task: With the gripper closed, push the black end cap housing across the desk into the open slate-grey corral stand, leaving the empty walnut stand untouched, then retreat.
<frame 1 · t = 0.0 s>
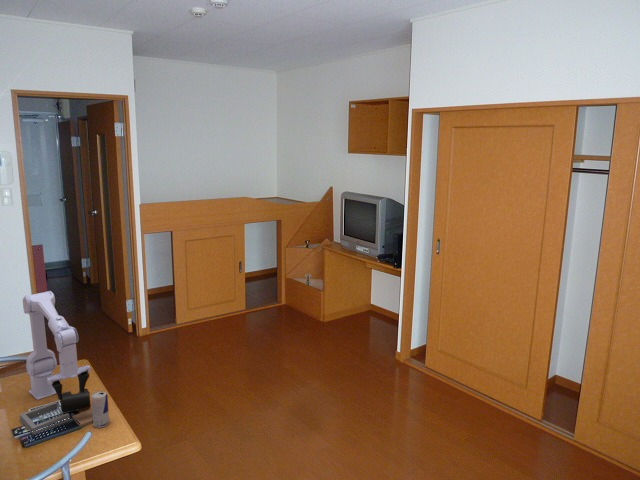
hand: (71, 395, 182), 10 cm above the table, fingers open, 7 cm apart
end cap: (76, 409, 192), on the table
corral stand: (48, 419, 185), on the table
energy drink: (101, 424, 182), on the table
walnut stand: (87, 418, 186), on the table
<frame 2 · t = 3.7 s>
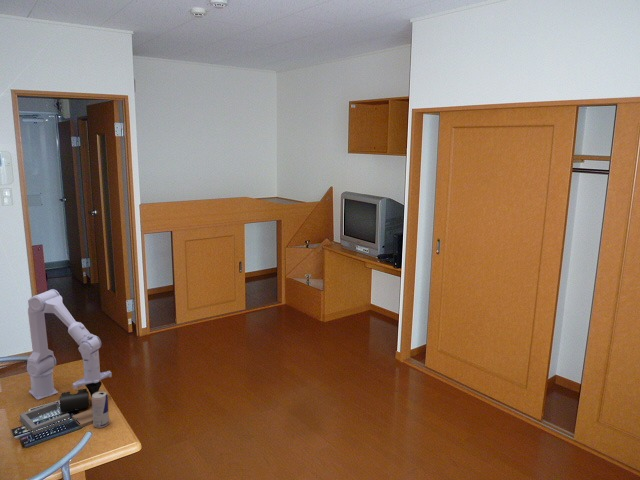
hand: (94, 398, 197), 1 cm above the table, fingers closed
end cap: (75, 409, 192), on the table, touching gripper
everything else where it was.
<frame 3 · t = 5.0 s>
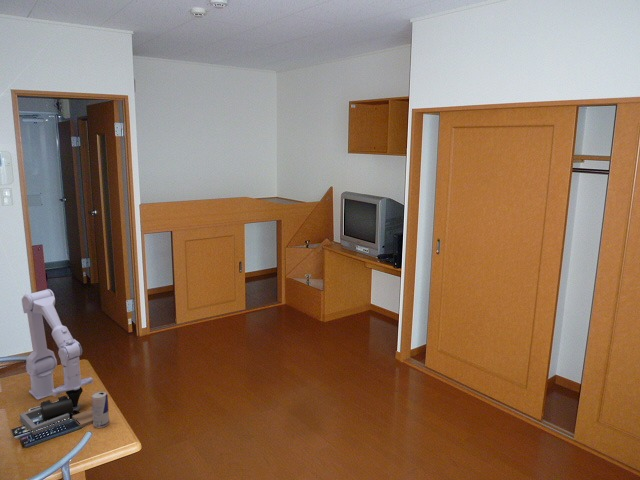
hand: (74, 406, 191), 1 cm above the table, fingers closed
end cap: (57, 418, 186), on the table, touching gripper
everything else where it was.
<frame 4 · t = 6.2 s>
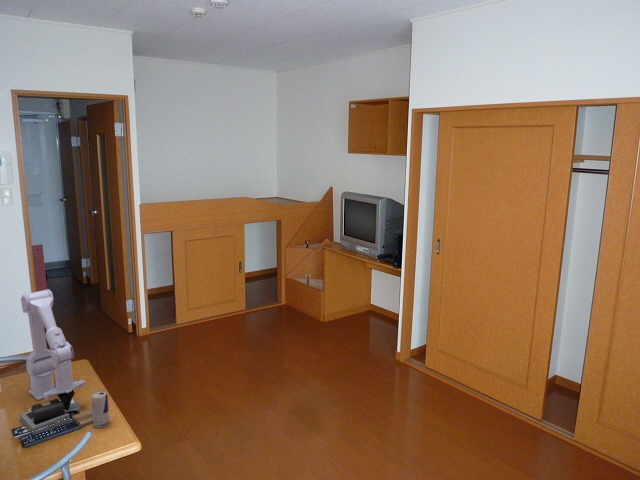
hand: (66, 409, 189), 1 cm above the table, fingers closed
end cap: (48, 421, 184), on the table, touching gripper
everything else where it was.
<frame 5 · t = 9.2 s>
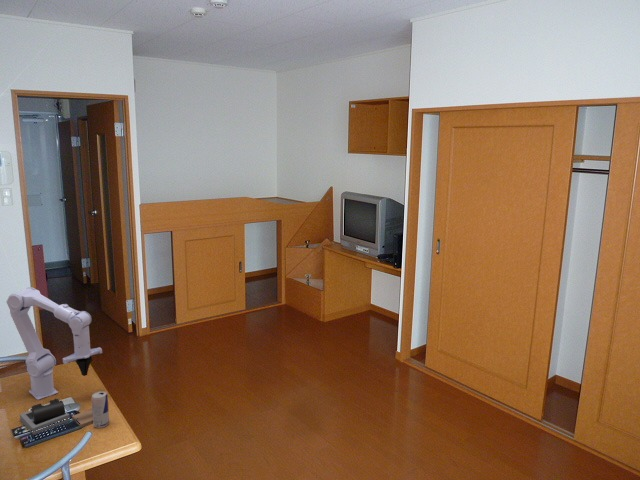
hand: (84, 374, 197), 10 cm above the table, fingers closed
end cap: (48, 421, 184), on the table
everything else where it was.
at the end: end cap inside the target area on the corral stand (1.1 cm from its centre), point 0.0 cm above the corral stand's base; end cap moved 10.5 cm from its start; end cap touching table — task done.
